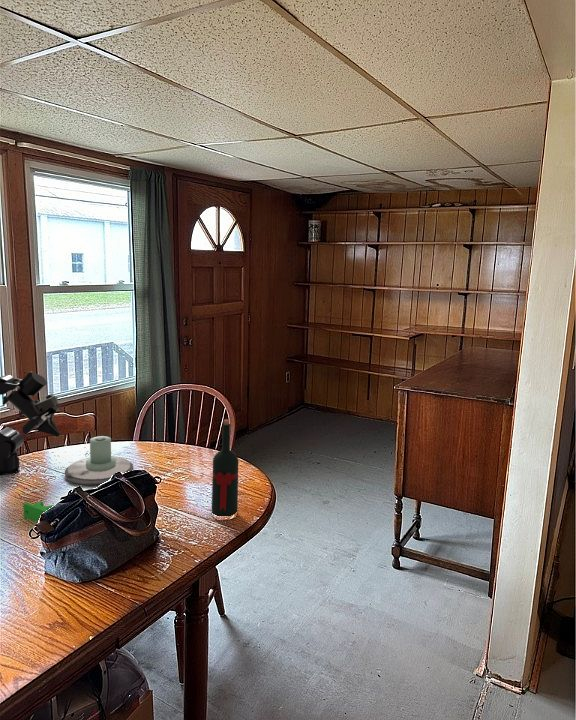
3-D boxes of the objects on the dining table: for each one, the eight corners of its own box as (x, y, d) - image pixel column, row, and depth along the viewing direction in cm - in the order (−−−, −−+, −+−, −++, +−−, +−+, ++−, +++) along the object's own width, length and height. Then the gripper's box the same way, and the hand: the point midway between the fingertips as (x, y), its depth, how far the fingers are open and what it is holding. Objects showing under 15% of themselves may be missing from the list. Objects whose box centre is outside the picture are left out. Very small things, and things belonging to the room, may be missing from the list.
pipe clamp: (61, 522, 148) (60, 507, 147) (50, 528, 145) (49, 513, 144) (34, 512, 153) (34, 498, 152) (23, 518, 149) (23, 503, 149)
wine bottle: (208, 524, 150) (210, 426, 145) (213, 508, 160) (214, 416, 155) (235, 525, 150) (238, 427, 145) (238, 509, 160) (240, 416, 155)
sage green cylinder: (91, 473, 176) (91, 445, 175) (81, 464, 184) (81, 437, 182) (120, 467, 183) (119, 440, 181) (109, 458, 190) (108, 432, 188)
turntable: (76, 491, 167) (76, 484, 167) (56, 469, 185) (56, 462, 184) (143, 476, 182) (143, 469, 181) (119, 456, 199) (119, 450, 199)
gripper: (30, 395, 168) (65, 428, 171) (52, 383, 186) (84, 413, 189) (6, 417, 169) (42, 450, 171) (31, 403, 187) (63, 433, 190)
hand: (59, 435), depth 180 cm, fingers closed
